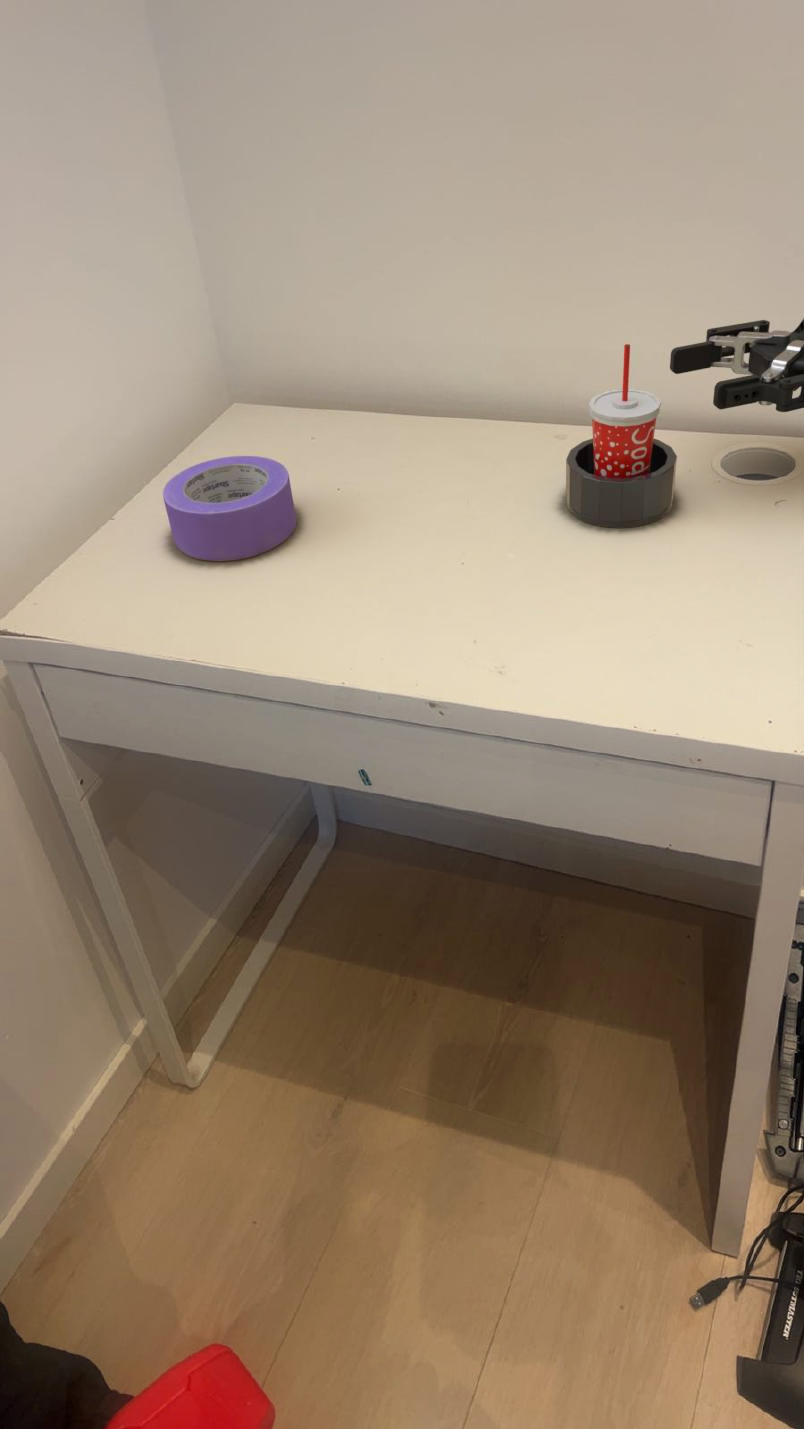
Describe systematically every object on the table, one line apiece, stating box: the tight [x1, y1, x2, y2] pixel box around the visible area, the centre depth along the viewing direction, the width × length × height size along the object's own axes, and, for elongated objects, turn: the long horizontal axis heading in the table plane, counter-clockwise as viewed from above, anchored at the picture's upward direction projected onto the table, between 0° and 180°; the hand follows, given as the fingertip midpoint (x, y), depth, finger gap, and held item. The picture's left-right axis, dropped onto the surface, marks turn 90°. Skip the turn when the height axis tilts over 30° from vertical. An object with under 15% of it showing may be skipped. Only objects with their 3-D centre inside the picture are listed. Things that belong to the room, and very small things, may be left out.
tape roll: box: [162, 455, 297, 562], centre depth 97 cm, size 12×12×5 cm
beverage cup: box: [588, 343, 662, 479], centre depth 91 cm, size 6×6×14 cm
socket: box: [565, 438, 678, 529], centre depth 95 cm, size 10×10×4 cm
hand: (693, 378), depth 90 cm, fingers open, 8 cm apart
